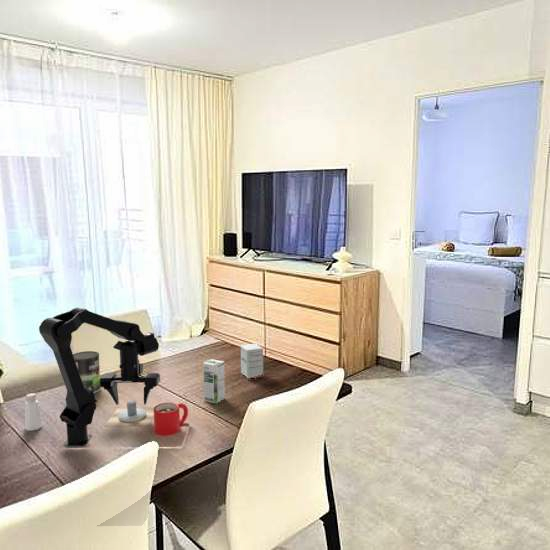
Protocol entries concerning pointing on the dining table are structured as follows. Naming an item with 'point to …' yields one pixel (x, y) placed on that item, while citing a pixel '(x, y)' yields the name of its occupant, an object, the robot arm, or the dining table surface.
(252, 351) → the supplement box
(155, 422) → the mug
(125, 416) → the lid
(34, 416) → the pepper shaker
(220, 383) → the syrup box
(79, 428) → the robot arm
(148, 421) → the mat
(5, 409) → the dining table surface
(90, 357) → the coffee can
